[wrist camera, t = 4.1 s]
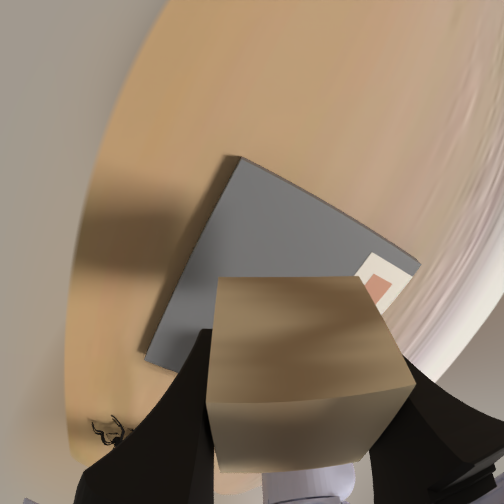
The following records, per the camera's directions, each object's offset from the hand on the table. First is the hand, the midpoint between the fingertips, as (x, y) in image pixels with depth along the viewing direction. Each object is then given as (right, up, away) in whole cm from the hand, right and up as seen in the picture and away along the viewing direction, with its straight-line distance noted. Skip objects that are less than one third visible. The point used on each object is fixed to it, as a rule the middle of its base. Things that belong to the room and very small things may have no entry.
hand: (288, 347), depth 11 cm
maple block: (0, 0, +1) cm, 1 cm away
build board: (0, -1, +9) cm, 9 cm away
